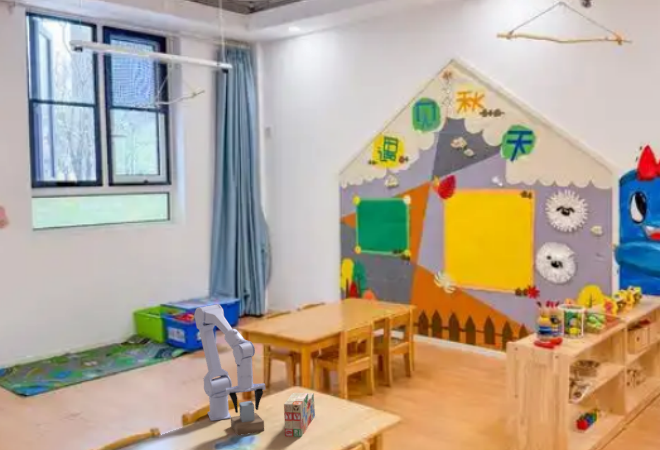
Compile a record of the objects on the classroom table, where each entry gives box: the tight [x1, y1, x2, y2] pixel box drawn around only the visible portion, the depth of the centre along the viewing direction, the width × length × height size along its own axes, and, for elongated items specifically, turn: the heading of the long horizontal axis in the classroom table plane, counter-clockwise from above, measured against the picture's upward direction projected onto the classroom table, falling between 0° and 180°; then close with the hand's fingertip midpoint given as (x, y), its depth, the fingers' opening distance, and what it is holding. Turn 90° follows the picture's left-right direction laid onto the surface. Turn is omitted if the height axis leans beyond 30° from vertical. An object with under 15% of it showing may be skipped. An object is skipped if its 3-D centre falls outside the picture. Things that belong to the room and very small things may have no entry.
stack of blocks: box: [283, 392, 316, 438], centre depth 253 cm, size 21×6×12 cm, turn 168°
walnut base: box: [230, 412, 265, 436], centre depth 253 cm, size 10×10×4 cm
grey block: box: [238, 400, 255, 422], centre depth 252 cm, size 5×5×6 cm
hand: (246, 410), depth 252 cm, fingers open, 7 cm apart
